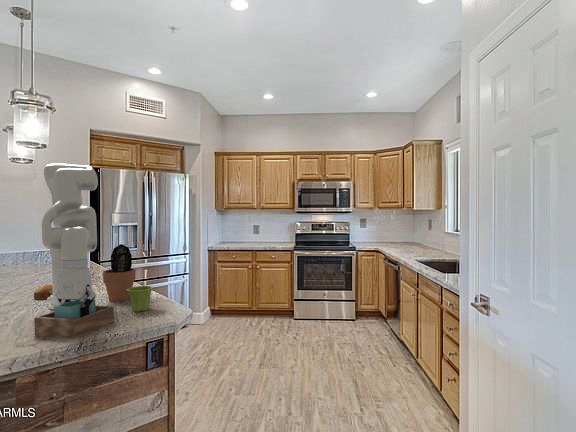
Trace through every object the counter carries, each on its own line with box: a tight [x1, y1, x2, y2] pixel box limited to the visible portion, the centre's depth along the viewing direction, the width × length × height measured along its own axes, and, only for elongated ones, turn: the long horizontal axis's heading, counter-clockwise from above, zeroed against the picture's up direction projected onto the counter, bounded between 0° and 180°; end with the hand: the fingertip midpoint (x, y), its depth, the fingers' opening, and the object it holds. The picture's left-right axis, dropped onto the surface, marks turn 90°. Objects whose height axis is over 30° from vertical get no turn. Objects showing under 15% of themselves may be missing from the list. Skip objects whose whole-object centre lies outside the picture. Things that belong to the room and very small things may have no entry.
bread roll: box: [33, 284, 53, 301], centre depth 162 cm, size 10×10×8 cm
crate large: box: [33, 305, 115, 340], centre depth 115 cm, size 16×16×6 cm
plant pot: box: [127, 285, 153, 313], centre depth 137 cm, size 9×9×9 cm
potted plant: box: [102, 243, 137, 303], centre depth 155 cm, size 14×14×25 cm
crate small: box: [53, 298, 97, 319], centre depth 115 cm, size 7×10×6 cm, turn 167°
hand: (76, 317), depth 115 cm, fingers closed on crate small, 6 cm apart
